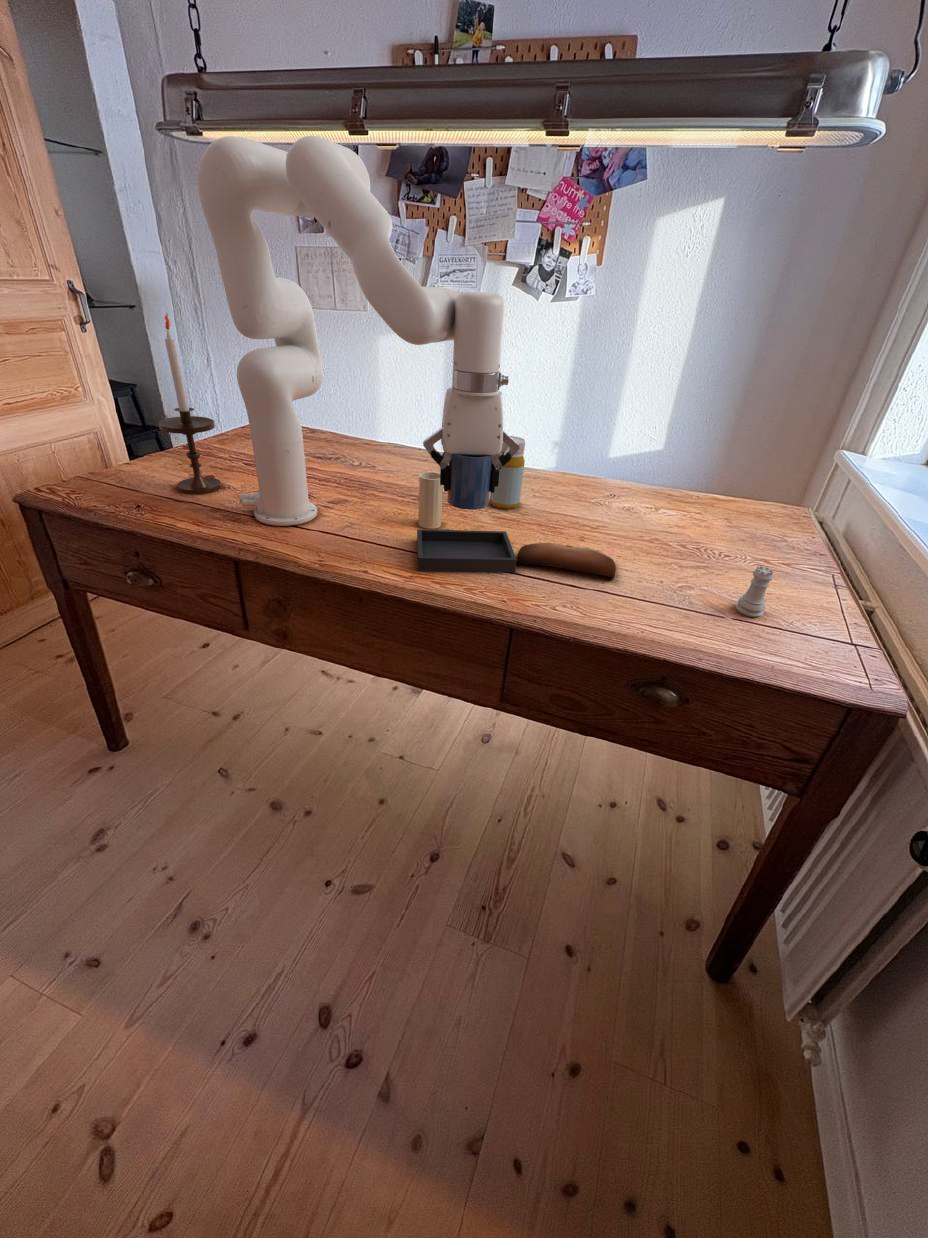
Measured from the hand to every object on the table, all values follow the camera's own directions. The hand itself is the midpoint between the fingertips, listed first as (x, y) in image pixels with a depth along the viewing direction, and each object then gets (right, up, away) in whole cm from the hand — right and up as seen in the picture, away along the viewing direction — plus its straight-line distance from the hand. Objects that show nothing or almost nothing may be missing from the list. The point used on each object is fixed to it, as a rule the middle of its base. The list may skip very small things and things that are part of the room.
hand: (468, 488), depth 96 cm
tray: (-1, -11, +7) cm, 13 cm away
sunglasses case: (+18, -13, +7) cm, 24 cm away
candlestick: (-61, +7, +29) cm, 68 cm away
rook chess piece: (+48, -22, -4) cm, 52 cm away
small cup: (-8, -3, +19) cm, 21 cm away
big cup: (0, -2, +1) cm, 2 cm away
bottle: (+9, +4, +32) cm, 33 cm away
